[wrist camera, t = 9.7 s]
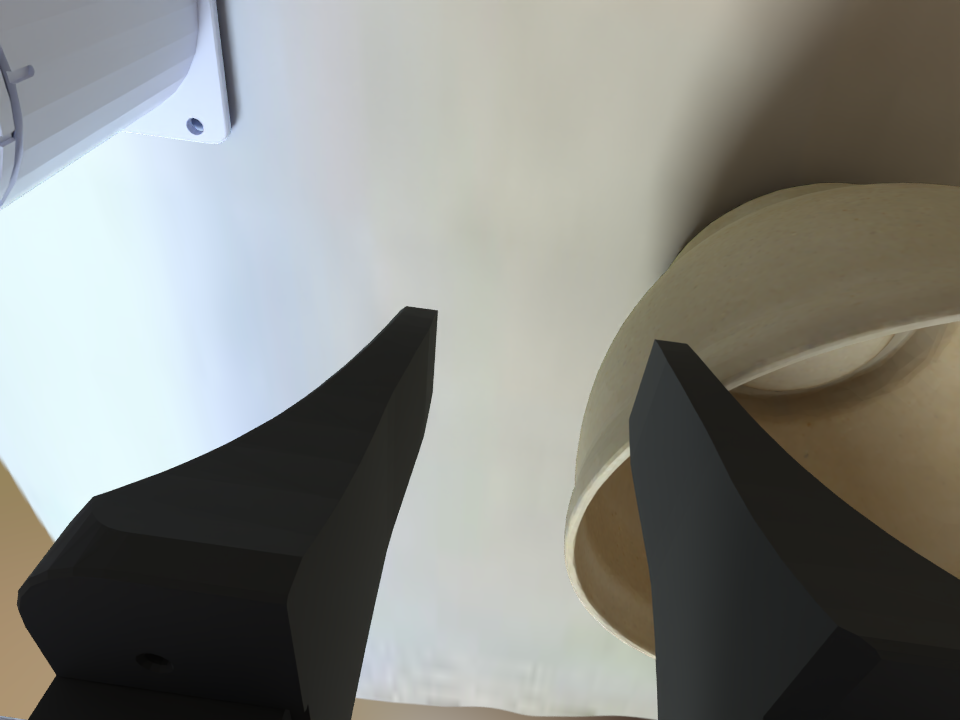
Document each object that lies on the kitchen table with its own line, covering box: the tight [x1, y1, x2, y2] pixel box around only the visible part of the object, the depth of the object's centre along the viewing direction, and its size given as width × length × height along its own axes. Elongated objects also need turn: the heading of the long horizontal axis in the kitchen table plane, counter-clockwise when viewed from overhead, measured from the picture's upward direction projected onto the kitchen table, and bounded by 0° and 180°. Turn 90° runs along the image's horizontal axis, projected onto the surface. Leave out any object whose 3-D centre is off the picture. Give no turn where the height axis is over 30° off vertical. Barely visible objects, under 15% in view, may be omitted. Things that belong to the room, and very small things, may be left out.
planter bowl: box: [564, 183, 960, 659], centre depth 19 cm, size 16×16×11 cm
